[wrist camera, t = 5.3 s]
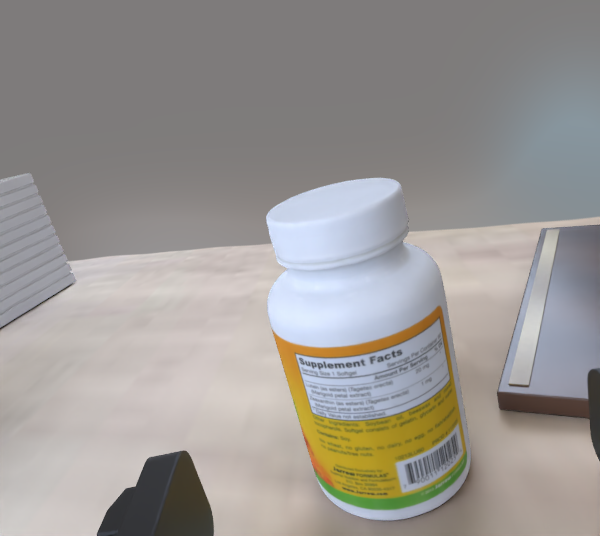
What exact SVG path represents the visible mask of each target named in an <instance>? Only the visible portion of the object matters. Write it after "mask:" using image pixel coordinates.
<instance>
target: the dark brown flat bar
mask: <svg viewBox="0 0 600 536" xmlns="http://www.w3.org/2000/svg"><path fill="white" fill-rule="evenodd" d="M596 368H600V225H588V226H573V227H558V228H543V229H542V230H541V234H540V237H539V241H538V245H537V248H536V252H535V256H534V259H533V263H532V267H531V270H530V274H529V278H528V281H527V285H526V289H525V292H524V296H523V300H522V303H521V307H520V310H519V314H518V318H517V321H516V325H515V329H514V332H513V336H512V340H511V343H510V347H509V351H508V354H507V358H506V362H505V365H504V369H503V373H502V376H501V380H500V384H499V387H498V391H497V396H498V403H499V408H500V409H502V410H513V411H523V412H533V413H543V414H553V415H563V416H573V417H583V418H590V413H589V398H588V383H587V377H588V372H589V371H590V370H591V369H596Z"/></svg>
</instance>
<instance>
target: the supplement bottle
mask: <svg viewBox="0 0 600 536" xmlns="http://www.w3.org/2000/svg"><path fill="white" fill-rule="evenodd" d="M266 221H267V226H268V230H269V233H270V237H271V241H272V244H273V248H274V251H275V253H276V259H277V261H278V263H279V264H281V265H282V266H284V267H286V268H287V270H286V271H285V272H284V273H283V274H281V275H280V277H279V278H278V279H277V280H276V281H275V283H274V285H273V286H272V288H271V290H270V293H269V296H268V301H267V310H268V315H269V319H270V323H271V327H272V331H273V334H274V338H275V341H276V344H277V348H278V351H279V354H280V358H281V361H282V364H283V368H284V371H285V375H286V378H287V381H288V385H289V388H290V391H291V395H292V398H293V401H294V405H295V408H296V412H297V415H298V418H299V422H300V425H301V428H302V432H303V435H304V439H305V442H306V445H307V449H308V452H309V455H310V458H311V462H312V465H313V468H314V471H315V474H316V477H317V480H318V482H319V484H320V487H321V488H322V490H323V492H324V493H325V494H326V496H327V497H328V498H329V499H330V500H331V501H332V502H333V503H334V504H335V505H337V506H338V507H339V508H341V509H342V510H344V511H346V512H348V513H350V514H353V515H356V516H359V517H362V518H366V519H372V520H384V521H389V520H401V519H406V518H410V517H414V516H418V515H421V514H423V513H426V512H429V511H431V510H433V509H435V508H437V507H439V506H440V505H442V504H443V503H445V502H446V501H447V500H449V499H450V498H451V497H452V496H453V495H454V494H455V493H456V492H457V491H458V490H459V489H460V487H461V486H462V484H463V483H464V481H465V479H466V477H467V474H468V472H469V468H470V462H471V448H470V441H469V434H468V427H467V421H466V416H465V409H464V404H463V398H462V392H461V386H460V380H459V375H458V369H457V363H456V357H455V351H454V345H453V339H452V333H451V327H450V321H449V315H448V308H447V302H446V296H445V291H444V286H443V281H442V277H441V273H440V270H439V268H438V266H437V264H436V262H435V261H434V260H433V258H432V257H431V256H430V255H429V254H428V253H427V252H425V251H424V250H422V249H421V248H419V247H417V246H414V245H411V244H409V243H404V242H403V240H404V238H405V237H406V236H407V234H408V232H409V230H408V229H409V227H408V222H409V218H408V214H407V211H406V206H405V202H404V197H403V192H402V187H401V185H400V184H399V183H398V182H397V181H395V180H392V179H388V178H368V179H358V180H350V181H345V182H340V183H336V184H331V185H328V186H323V187H320V188H317V189H313V190H310V191H307V192H304V193H301V194H299V195H297V196H294V197H292V198H290V199H288V200H286V201H284V202H282V203H280V204H278V205H277V206H275V207H274V208H272V209H271V210H270V211H269V213H268V214H267V217H266Z"/></svg>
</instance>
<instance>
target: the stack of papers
mask: <svg viewBox="0 0 600 536" xmlns="http://www.w3.org/2000/svg"><path fill="white" fill-rule="evenodd" d="M32 183H34V180H33V178H32V176H31V174H30V173H26V174H22V175H18V176H14V177H9V178H5V179H1V180H0V328H1V327H2V326H4V325H5V324H7V323H9V322H10V321H12V320H14V319H15V318H17V317H18V316H20V315H22V314H23V313H25V312H27V311H28V310H30V309H31V308H33V307H35V306H36V305H38V304H39V303H41V302H43V301H44V300H46V299H48V298H49V297H51V296H52V295H54V294H56V293H57V292H59V291H61V290H62V289H64V288H65V287H67V286H69V285H70V284H72V283H73V282H75V281H76V279H75V276H74V274H73V273H70V271H72V269H71V267H70V265H69V264H66V262H67V261H68V260H67V258H66V255H65V254H62V253H63V252H64V251H63V248H62V246H61V245H58V243H59V239H58V237H57V235H54V233H55V230H54V227H53V225H50V223H51V220H50V218H49V216H48V215H46V213H47V211H46V208H45V206H44V205H41V204H42V203H43V202H42V199H41V197H40V195H37V193H38V190H37V187H36V185H33V184H32Z"/></svg>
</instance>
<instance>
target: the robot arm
mask: <svg viewBox="0 0 600 536" xmlns="http://www.w3.org/2000/svg"><path fill="white" fill-rule="evenodd" d="M587 383H588V398H589V413H590V429H591V438H592V443H593V446H594V449H595V452H596V454H597V457H598V459H599V461H600V368H596V369H591V370H590V371H589V372H588V377H587ZM213 535H214V525H213V516H212V511H211V507H210V505H209V502H208V499H207V497H206V494H205V492H204V489H203V487H202V484H201V482H200V479H199V477H198V474H197V471H196V469H195V466H194V464H193V461H192V459H191V457H190V455H189V453H188V452H187V451H179V452H174V453H169V454H164V455H159V456H154V457H150V458H148V459H147V461H146V462H145V465H144V467H143V470H142V472H141V475H140V477H139V480H138V482H137V485H136V487H131V488H126V489H125V490H124V491H123V493H122V494H121V495H120V496H119V497H118V499H117V500H116V501H115V502H114V503H113V504H112V506H111V507H110V508H109V509H108V510H107V512H106V515H105V517H104V519H103V521H102V524H101V526H100V528H99V531H98V533H97V536H213Z"/></svg>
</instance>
